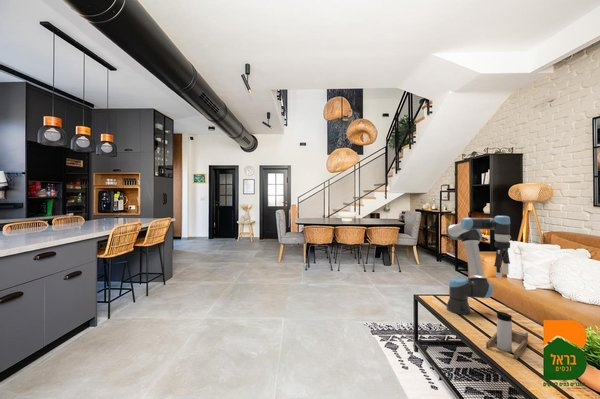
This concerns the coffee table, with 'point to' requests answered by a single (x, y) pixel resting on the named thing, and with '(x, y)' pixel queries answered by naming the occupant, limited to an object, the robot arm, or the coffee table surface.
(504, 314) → the travel mug
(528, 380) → the coffee table surface
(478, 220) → the robot arm
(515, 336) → the bay
